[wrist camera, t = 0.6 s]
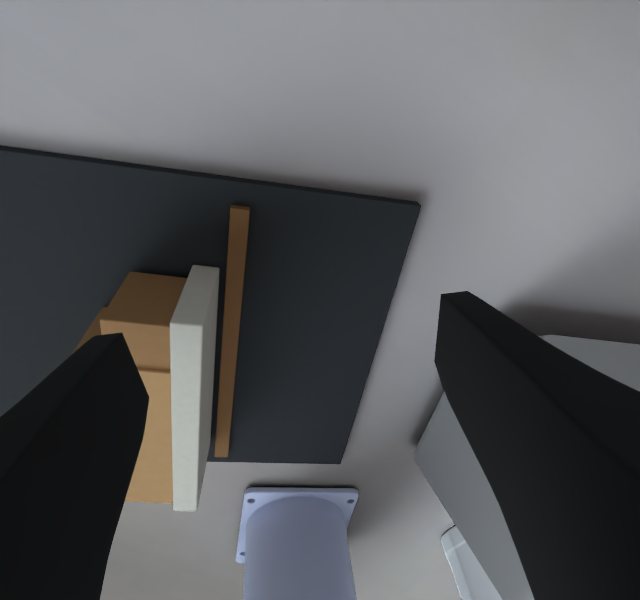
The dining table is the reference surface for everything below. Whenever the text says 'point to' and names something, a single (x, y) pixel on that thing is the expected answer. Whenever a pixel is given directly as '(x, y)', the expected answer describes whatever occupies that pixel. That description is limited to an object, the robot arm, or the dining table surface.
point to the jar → (467, 569)
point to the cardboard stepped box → (169, 377)
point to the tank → (471, 483)
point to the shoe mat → (233, 295)
